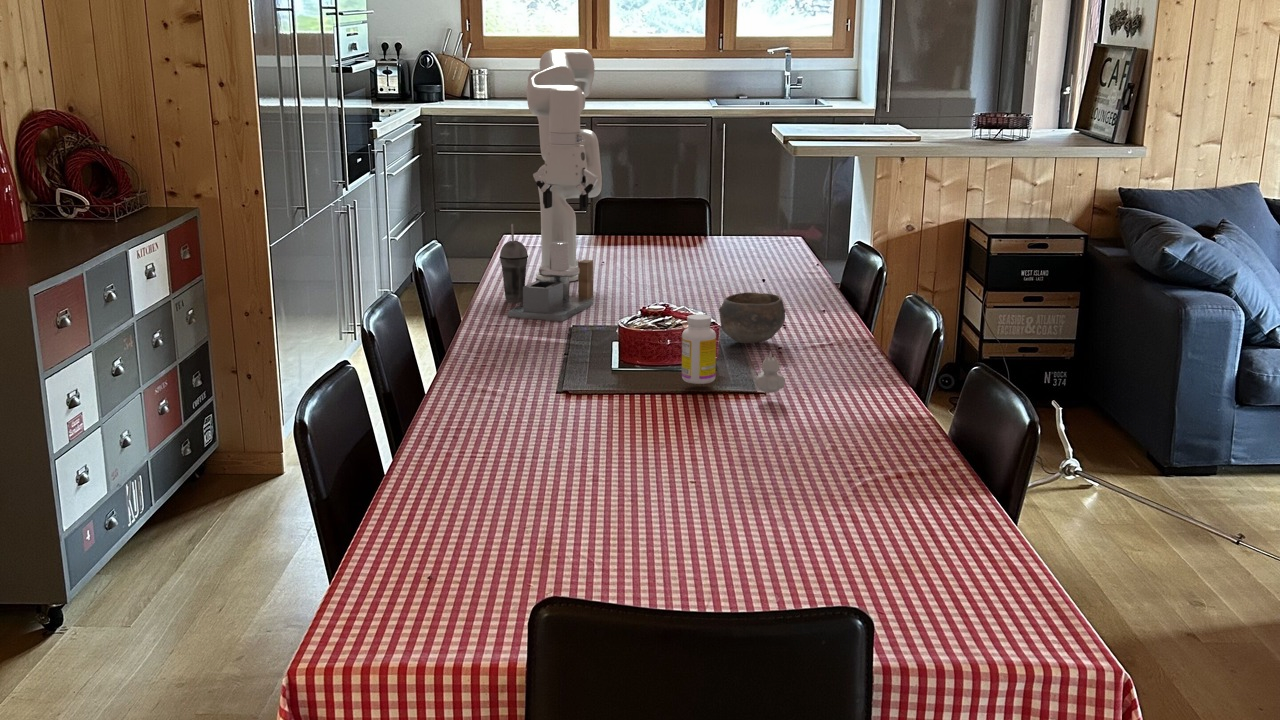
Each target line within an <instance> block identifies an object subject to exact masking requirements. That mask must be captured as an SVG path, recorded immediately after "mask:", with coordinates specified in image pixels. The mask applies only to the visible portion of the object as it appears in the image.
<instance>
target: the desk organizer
mask: <svg viewBox="0 0 1280 720" xmlns="http://www.w3.org/2000/svg"><path fill="white" fill-rule="evenodd" d="M549 264H550V266H544V267H542V266H541V267H539V268H538V273H539V274H540V275H542V276H546V277H550V281H542V280H538V279H537V280H536V281H533V282H531V283H529V284H525V286H524V287H523V302H522V304H520V305H517V306H516V307H514V308H511V309H509V310H507V313H508V318H515V319H516V318H517V319H526V320H527V319H529V320H540V321H550V322H551V321H552V322H561V323H562V322H564V321H566V320H568V319H570V318H571V317H573V316H575V315H577V314H579V313H580V312H582V311H584V310H586V309H588V308H590V307H591V306H593V305H594V298H591V299H590V298H578V297H576V296H574V297H573V296H570V281H569V277H571V276H576V275H579V267H578V266H570V265H569V243H568V242H550V243H549Z"/></svg>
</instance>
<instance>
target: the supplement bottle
mask: <svg viewBox="0 0 1280 720" xmlns="http://www.w3.org/2000/svg"><path fill="white" fill-rule="evenodd" d="M686 323H687V328H685V329H684V330H683V332H682V333H681V378H682V380H683V381H684V382H686V383H688V384H694V385H695V384H697V385H705V384H710V383H713V382H714V381H715V380H716V376H717V375H716V371H717V370H716V369H717V367H716V363H717V361H716V360H717V359H716V358H717V357H716V356H717V333H716V331H715V330H714V329H713V328H711V324H712V316H711V315H707V314H697V313H695V314H690V315H689V314H688V316H687V318H686Z"/></svg>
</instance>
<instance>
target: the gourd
mask: <svg viewBox="0 0 1280 720" xmlns="http://www.w3.org/2000/svg"><path fill="white" fill-rule="evenodd" d="M779 365H780V364H779V361H778V359H777V357H776V355H774V356H773V355H772V352H771V350H770V351H769V356H768V355H766V356H765V358H764V360H763V362H762V368H761V369H762V371H761V372H760V373H759V374H758V375H757V376H756V378H755V385H756V387H757V389H759V390H760V391H762V392H764V393H768V394H769V393H776V392H779V391H780V390H783V388H784V387H785V382H786V379H785V377H784V375H782V374H780V373H779Z"/></svg>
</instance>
